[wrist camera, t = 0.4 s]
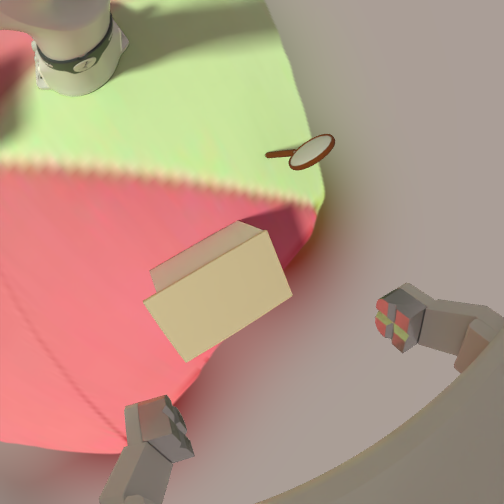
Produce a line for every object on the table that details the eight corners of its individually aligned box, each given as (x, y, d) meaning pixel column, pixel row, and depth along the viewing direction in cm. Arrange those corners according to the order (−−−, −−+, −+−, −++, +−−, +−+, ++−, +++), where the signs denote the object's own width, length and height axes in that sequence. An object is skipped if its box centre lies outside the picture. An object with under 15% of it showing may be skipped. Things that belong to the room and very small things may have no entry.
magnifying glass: (276, 139, 58) (341, 129, 40) (281, 145, 59) (346, 138, 41) (249, 166, 57) (308, 164, 39) (254, 172, 58) (314, 173, 40)
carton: (149, 270, 53) (157, 294, 43) (237, 220, 59) (265, 231, 48) (181, 321, 59) (196, 352, 48) (260, 273, 64) (290, 292, 53)
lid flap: (142, 300, 42) (143, 302, 41) (265, 229, 48) (266, 230, 47) (185, 360, 47) (186, 362, 47) (290, 294, 53) (292, 295, 53)
